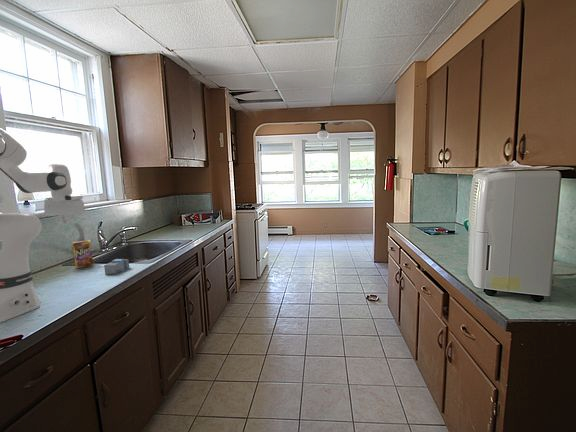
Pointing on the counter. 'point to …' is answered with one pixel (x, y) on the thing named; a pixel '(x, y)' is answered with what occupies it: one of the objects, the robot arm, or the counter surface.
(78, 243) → the candy box
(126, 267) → the block
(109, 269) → the sliding jaw
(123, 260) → the blue block
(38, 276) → the counter surface
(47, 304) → the counter surface
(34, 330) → the counter surface
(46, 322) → the counter surface
